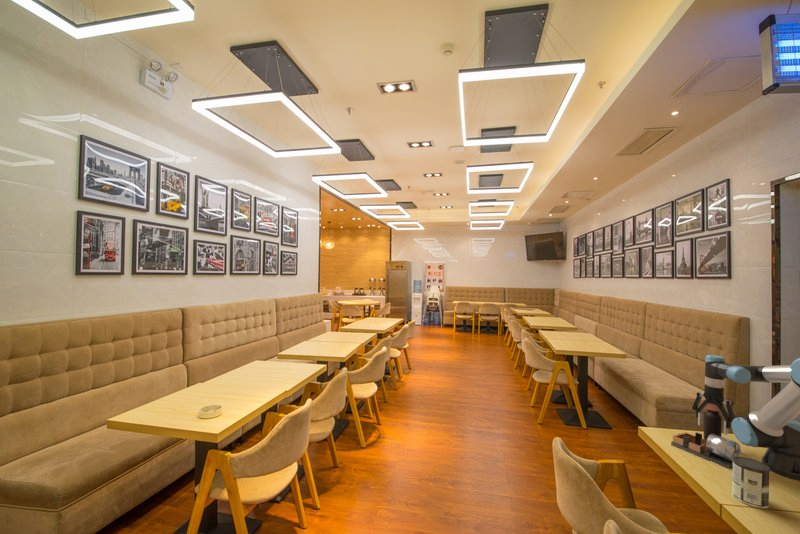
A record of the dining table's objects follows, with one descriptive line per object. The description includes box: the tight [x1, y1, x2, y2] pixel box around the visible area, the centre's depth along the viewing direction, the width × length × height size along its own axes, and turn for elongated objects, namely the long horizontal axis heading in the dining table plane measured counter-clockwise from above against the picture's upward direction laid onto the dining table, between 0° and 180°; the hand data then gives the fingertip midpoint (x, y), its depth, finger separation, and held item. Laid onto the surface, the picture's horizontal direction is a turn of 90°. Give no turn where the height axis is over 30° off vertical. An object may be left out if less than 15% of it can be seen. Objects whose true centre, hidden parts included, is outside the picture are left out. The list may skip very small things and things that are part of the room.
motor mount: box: [670, 432, 741, 469], centre depth 170 cm, size 23×13×10 cm, turn 25°
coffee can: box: [731, 456, 771, 510], centre depth 135 cm, size 10×10×14 cm
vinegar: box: [703, 403, 723, 440], centre depth 180 cm, size 7×7×20 cm
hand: (712, 429), depth 180 cm, fingers open, 10 cm apart
